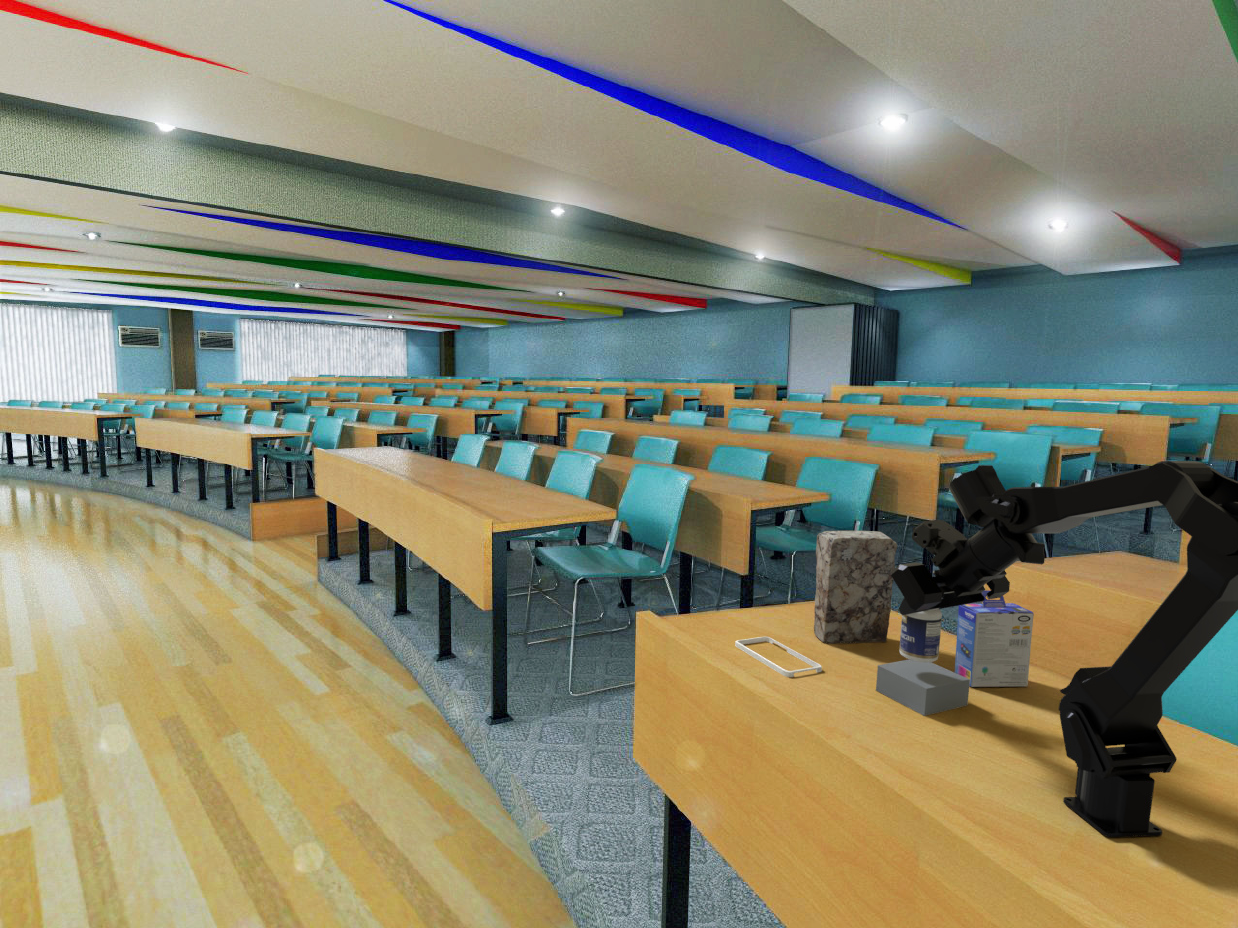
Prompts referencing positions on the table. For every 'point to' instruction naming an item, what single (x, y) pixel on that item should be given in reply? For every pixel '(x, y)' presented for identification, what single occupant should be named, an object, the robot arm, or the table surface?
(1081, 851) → the table surface
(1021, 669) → the ink cartridge box
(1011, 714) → the table surface
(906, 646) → the pill bottle
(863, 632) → the stone block
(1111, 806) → the robot arm
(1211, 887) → the table surface
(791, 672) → the phone case
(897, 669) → the slate block
